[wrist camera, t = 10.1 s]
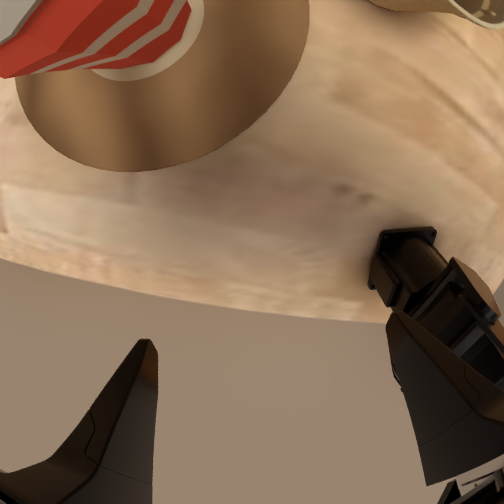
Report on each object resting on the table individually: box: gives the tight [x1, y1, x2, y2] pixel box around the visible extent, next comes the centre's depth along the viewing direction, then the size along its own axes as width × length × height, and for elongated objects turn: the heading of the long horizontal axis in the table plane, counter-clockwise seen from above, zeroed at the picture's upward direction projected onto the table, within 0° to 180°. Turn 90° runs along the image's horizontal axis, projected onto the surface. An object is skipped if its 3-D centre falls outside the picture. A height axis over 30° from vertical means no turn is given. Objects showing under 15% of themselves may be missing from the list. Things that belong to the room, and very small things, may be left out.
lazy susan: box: [15, 0, 309, 172], centre depth 11 cm, size 20×20×1 cm
